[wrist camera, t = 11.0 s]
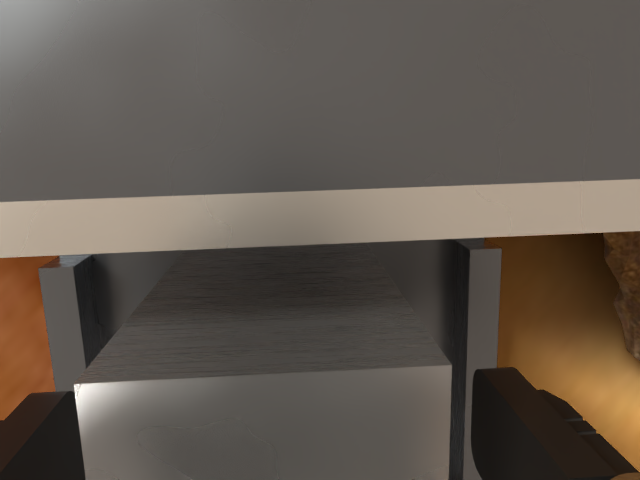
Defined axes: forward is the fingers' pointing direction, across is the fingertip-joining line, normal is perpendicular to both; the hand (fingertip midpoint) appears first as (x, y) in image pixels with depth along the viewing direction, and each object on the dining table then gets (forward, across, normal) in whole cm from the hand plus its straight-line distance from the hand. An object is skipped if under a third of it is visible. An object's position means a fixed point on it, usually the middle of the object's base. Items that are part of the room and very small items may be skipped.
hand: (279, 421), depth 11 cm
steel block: (+4, 0, 0) cm, 4 cm away
